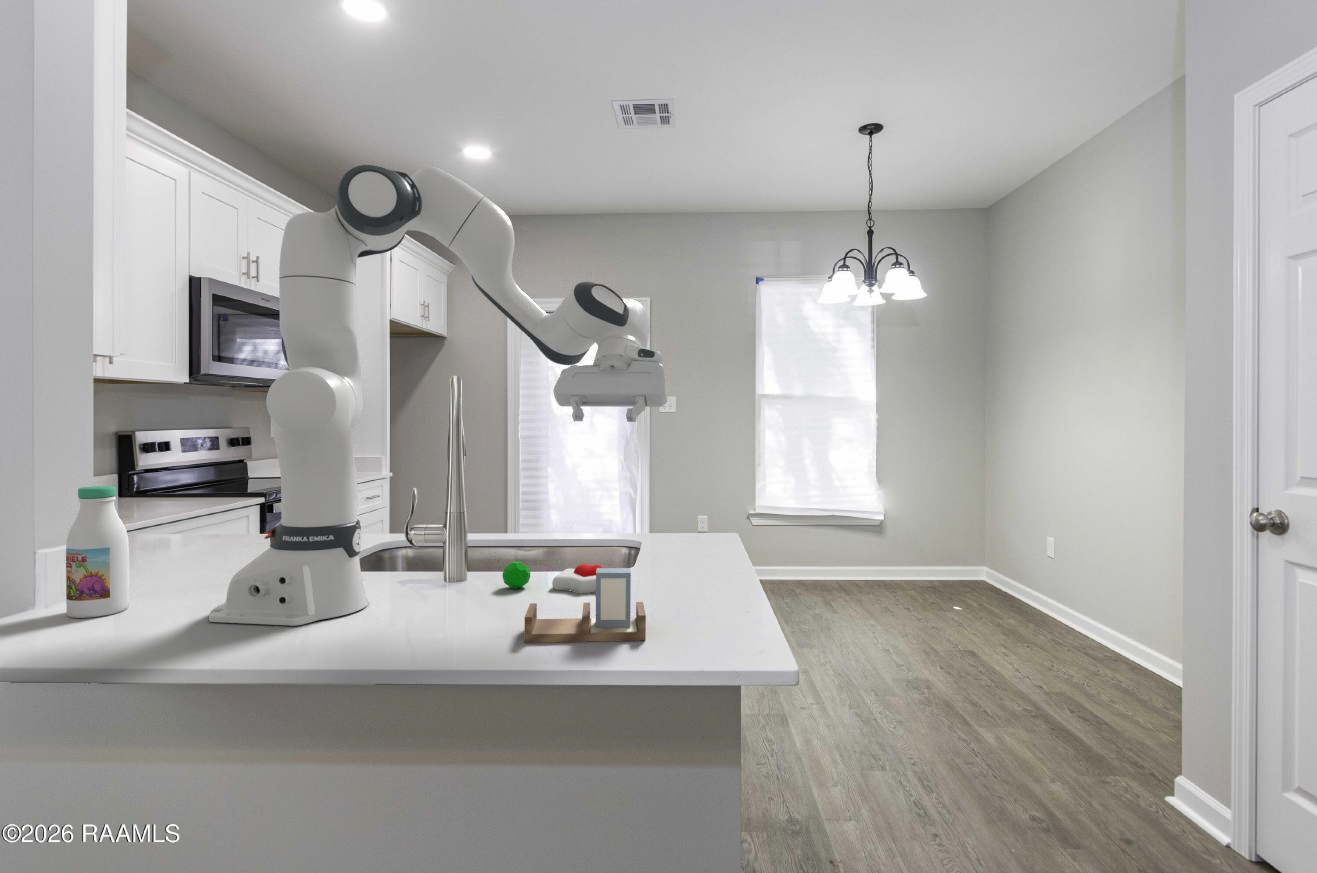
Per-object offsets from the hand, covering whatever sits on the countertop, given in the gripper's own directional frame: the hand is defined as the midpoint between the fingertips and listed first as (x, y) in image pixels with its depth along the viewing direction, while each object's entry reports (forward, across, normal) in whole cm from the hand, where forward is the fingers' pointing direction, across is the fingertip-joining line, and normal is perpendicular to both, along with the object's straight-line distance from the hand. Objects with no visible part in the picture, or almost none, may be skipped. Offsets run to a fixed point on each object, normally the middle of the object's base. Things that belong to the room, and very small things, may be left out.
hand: (603, 419), depth 113 cm
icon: (+16, -5, +29) cm, 34 cm away
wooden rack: (+34, +2, +11) cm, 35 cm away
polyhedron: (+18, -18, +27) cm, 37 cm away
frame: (+32, +6, +10) cm, 34 cm away
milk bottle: (+38, -77, +7) cm, 86 cm away
